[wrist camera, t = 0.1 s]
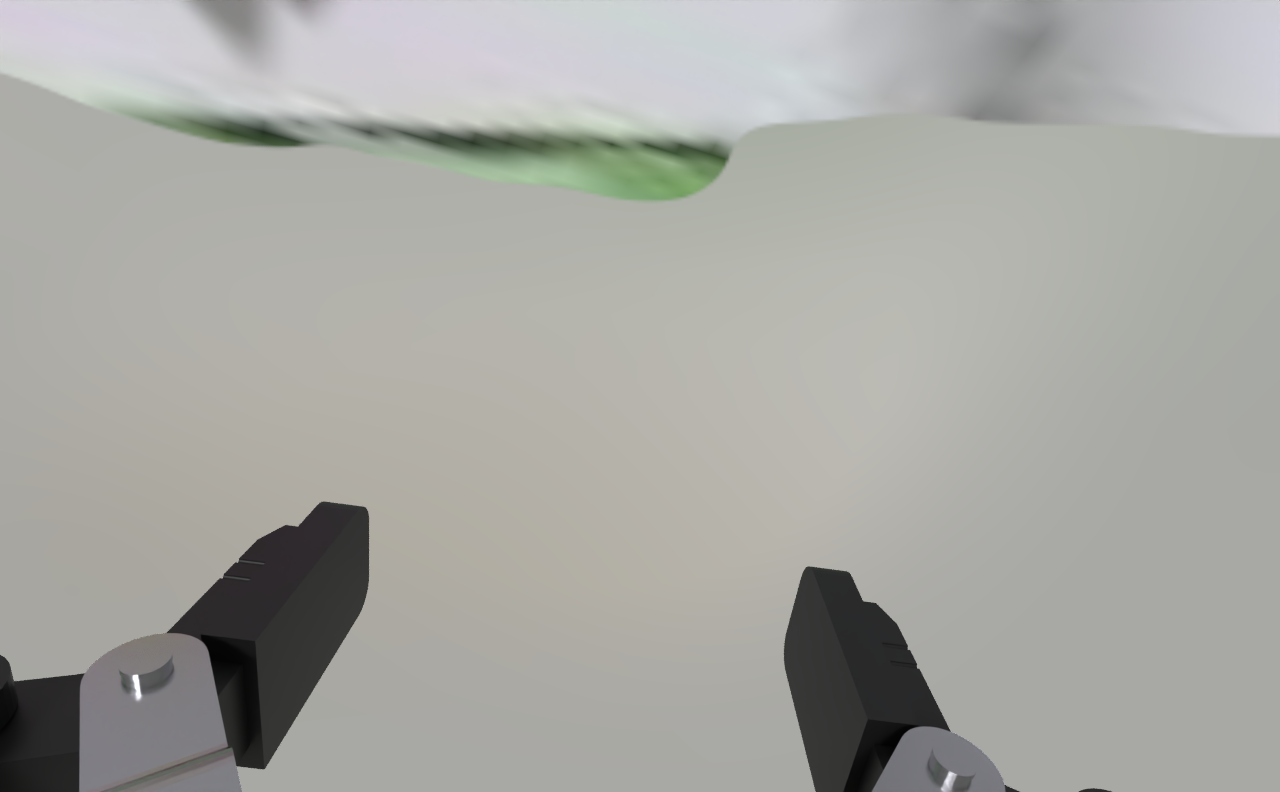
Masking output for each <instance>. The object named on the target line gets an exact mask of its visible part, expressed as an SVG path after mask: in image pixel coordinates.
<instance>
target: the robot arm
mask: <svg viewBox="0 0 1280 792" xmlns="http://www.w3.org/2000/svg"><path fill="white" fill-rule="evenodd" d="M368 582H369V515H368V511H367V509H366V508H365V507H361V506H353V505H346V504H338V503H330V502H321V503H319V504H318V505H317V506H316V507H315V508H314V510H313V511H312V512H311V513H310V514H309V515H308V516H307V517H306V518H305V520H304V521H303V522H302V523H301V524H300V525H299V526H298V527H296V526H288V525H285V526H283V527H281V528H279V529H277V530H275V531H273V532H271V533H270V534H268V535H266V536H264V537H262V538H260V539H258V540H257V541H256V542H255V543H254V544H253V545H252V546H251V547H250V548H249V549H248V550H247V551H246V552H245V553H244V554H243V555H242V556H241V557H240V558H239V562H238V563H234V564H233V566H231V567H230V569H228V571H227V572H226V573H225V574H224V576H223V579H221V578H220V579H219V580H218V581H217V582H216V583H215V584H214V585H213V586H212V587H211V588H210V589H209V590H208V591H207V592H206V593H205V594H204V595H203V596H202V597H201V598H200V599H199V600H198V601H197V602H196V603H195V604H194V605H193V606H192V607H191V609H190V610H189V611H187V612H186V614H185V615H184V616H183V617H182V618H181V619H180V620H179V621H178V622H177V623H176V624H175V625H174V626H173V627H172V628H171V629H170V630H169V631H168V632H167V633H163V634H155V635H150V636H146V637H141V638H139V639H135V640H132V641H130V642H127V643H124V644H122V645H120V646H118V647H116V648H114V649H112V650H111V651H109V652H107V653H106V654H104V655H103V656H102V657H100V658H99V659H98V660H96V661H95V662H94V663H93V664H92V665H91V666H90V667H89V669H88V670H87V671H86V673H84V674H77V675H69V676H60V677H51V678H42V679H33V680H24V681H14V680H13V676H12V672H11V667H10V664H9V662H8V661H7V660H6V658H5V657H3V656H1V655H0V792H242V790H241V785H240V781H239V776H238V771H237V767H236V766H240V767H248V768H257V769H265V768H266V766H267V764H268V763H269V761H270V759H271V758H272V756H273V755H274V753H275V751H276V750H277V748H278V746H279V745H280V743H281V742H282V740H283V738H284V736H285V735H286V733H287V732H288V730H289V728H290V727H291V725H292V724H293V722H294V720H295V719H296V717H297V715H298V714H299V712H300V711H301V709H302V707H303V706H304V704H305V702H306V701H307V699H308V697H309V696H310V694H311V693H312V691H313V689H314V688H315V686H316V684H317V683H318V681H319V679H320V678H321V676H322V674H323V673H324V671H325V670H326V668H327V666H328V665H329V663H330V661H331V660H332V658H333V657H334V655H335V653H336V652H337V650H338V648H339V647H340V645H341V643H342V642H343V640H344V639H345V637H346V635H347V634H348V632H349V630H350V629H351V627H352V625H353V624H354V622H355V621H356V619H357V617H358V616H359V614H360V612H361V610H362V607H363V605H364V602H365V598H366V594H367V590H368ZM907 647H908V645H907V644H906V641H905V639H904V637H903V635H902V633H901V631H900V629H899V627H898V625H897V624H896V623H895V622H894V621H893V620H892V619H891V618H890V617H889V616H888V615H887V614H886V613H885V612H884V611H883V610H882V609H881V608H880V607H879V606H878V605H877V604H876V603H871V602H863V600H862V598H861V596H860V594H859V591H858V589H857V588H856V585H855V583H854V580H853V578H852V576H851V574H850V573H849V572H847V571H839V570H832V569H824V568H817V567H806V568H805V570H804V572H803V574H802V577H801V580H800V584H799V588H798V592H797V595H796V599H795V603H794V606H793V610H792V614H791V618H790V621H789V625H788V629H787V633H786V638H785V646H784V663H785V670H786V674H787V678H788V682H789V686H790V690H791V694H792V698H793V702H794V706H795V710H796V714H797V718H798V722H799V726H800V730H801V734H802V738H803V742H804V746H805V750H806V755H807V758H808V763H809V767H810V770H811V775H812V778H813V783H814V787H815V791H816V792H1019V791H1017V790H1014V789H1012V788H1010V787H1007V786H1006V785H1004V782H1003V779H1002V777H1001V775H1000V773H999V771H998V770H997V768H996V766H995V765H994V764H993V762H992V761H991V760H990V759H989V758H988V757H987V756H986V755H985V754H984V753H983V752H982V751H981V750H980V749H979V748H977V747H976V746H975V745H973V744H972V743H971V742H969V741H967V740H966V739H964V738H962V737H961V736H958V735H957V734H955V733H952V732H951V731H950V729H949V727H948V725H947V723H946V721H945V719H944V717H943V715H942V713H941V711H940V709H939V707H938V705H937V703H936V701H935V699H934V697H933V695H932V693H931V691H930V689H929V687H928V686H927V683H926V681H925V679H924V677H923V675H922V673H921V671H920V669H917V663H916V661H915V659H914V657H913V655H912V653H911V651H910V650H908V648H907ZM1079 792H1111V791H1107V790H1102V789H1094V788H1093V789H1085V790H1081V791H1079Z"/></svg>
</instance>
